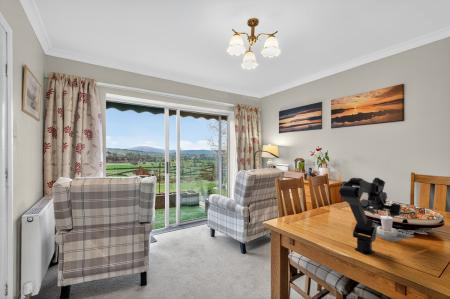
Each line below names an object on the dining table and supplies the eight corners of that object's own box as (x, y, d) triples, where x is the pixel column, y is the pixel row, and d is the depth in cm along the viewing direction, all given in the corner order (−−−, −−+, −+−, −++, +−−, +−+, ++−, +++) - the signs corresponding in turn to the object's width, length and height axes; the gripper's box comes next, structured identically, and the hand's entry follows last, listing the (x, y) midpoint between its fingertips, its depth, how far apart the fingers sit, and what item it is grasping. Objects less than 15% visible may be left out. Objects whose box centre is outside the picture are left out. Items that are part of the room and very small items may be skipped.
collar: (390, 237, 122) (390, 233, 122) (373, 231, 131) (373, 227, 131) (401, 234, 125) (401, 230, 126) (383, 229, 134) (383, 225, 134)
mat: (393, 242, 116) (393, 242, 116) (361, 231, 133) (361, 230, 133) (414, 236, 124) (414, 235, 124) (382, 227, 140) (382, 226, 140)
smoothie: (382, 234, 126) (382, 211, 126) (378, 230, 132) (378, 208, 132) (395, 236, 124) (395, 211, 124) (391, 231, 130) (390, 208, 130)
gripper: (400, 189, 114) (406, 207, 121) (361, 185, 129) (368, 201, 136) (395, 206, 110) (402, 224, 116) (356, 200, 124) (364, 216, 131)
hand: (383, 215), depth 125 cm, fingers open, 9 cm apart
